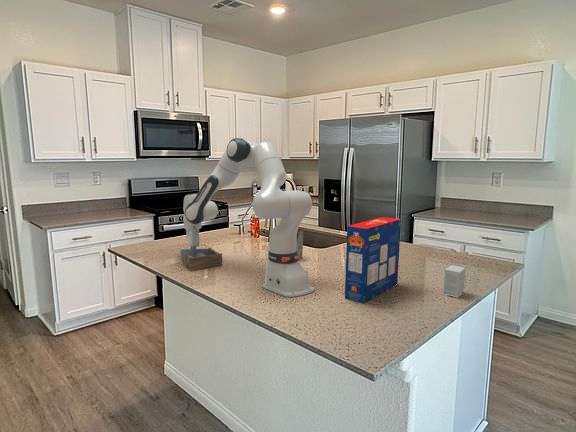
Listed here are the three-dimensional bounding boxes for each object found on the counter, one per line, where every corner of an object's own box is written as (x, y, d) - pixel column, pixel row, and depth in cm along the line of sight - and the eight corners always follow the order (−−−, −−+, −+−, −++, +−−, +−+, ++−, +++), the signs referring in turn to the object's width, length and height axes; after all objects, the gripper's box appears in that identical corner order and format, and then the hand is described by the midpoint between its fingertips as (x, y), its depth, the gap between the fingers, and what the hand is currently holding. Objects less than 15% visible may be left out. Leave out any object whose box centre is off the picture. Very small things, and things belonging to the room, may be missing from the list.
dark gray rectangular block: (209, 267, 183) (209, 257, 182) (201, 268, 181) (200, 258, 180) (202, 262, 191) (202, 252, 190) (194, 263, 188) (194, 253, 188)
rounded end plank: (211, 259, 195) (211, 248, 194) (180, 260, 193) (180, 249, 192) (211, 258, 196) (211, 248, 196) (181, 259, 195) (180, 248, 194)
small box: (449, 289, 155) (451, 264, 153) (463, 292, 152) (465, 267, 150) (442, 295, 149) (444, 269, 147) (457, 298, 145) (460, 272, 144)
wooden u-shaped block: (222, 266, 184) (221, 253, 183) (190, 271, 176) (190, 258, 175) (211, 259, 195) (211, 248, 194) (181, 264, 187) (181, 252, 186)
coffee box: (281, 259, 198) (281, 228, 195) (287, 256, 203) (287, 226, 201) (297, 261, 193) (298, 230, 191) (303, 258, 199) (303, 228, 196)
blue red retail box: (379, 280, 166) (383, 216, 161) (397, 284, 160) (401, 219, 156) (344, 298, 145) (347, 225, 140) (363, 304, 140) (366, 228, 135)
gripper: (202, 228, 187) (202, 255, 190) (195, 220, 206) (196, 245, 209) (189, 229, 185) (189, 256, 188) (183, 221, 204) (184, 246, 206)
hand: (193, 250), depth 198 cm, fingers open, 4 cm apart
